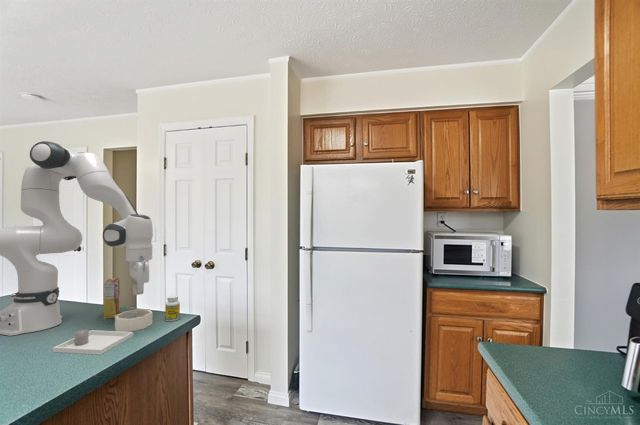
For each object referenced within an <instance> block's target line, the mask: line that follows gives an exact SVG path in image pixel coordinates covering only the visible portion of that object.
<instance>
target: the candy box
mask: <svg viewBox="0 0 640 425" xmlns="http://www.w3.org/2000/svg"><path fill="white" fill-rule="evenodd" d="M120 291H121V290H120V278H119V277H118V278H116V277H114V278H108V279H107V280H106V281H105V282H103V319H104V320H106V319H115V315H117V314H120V311H121V309H120V308H121V307H120V306H121V300H120V299H121V298H120Z"/></svg>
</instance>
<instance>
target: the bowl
mask: <svg viewBox="0 0 640 425" xmlns="http://www.w3.org/2000/svg"><path fill="white" fill-rule="evenodd" d="M128 313H136V318H131V319H125V315H126V314H128ZM151 325H153V311H152V310H151V309H145V308H144V309H143V308H137V309H131V310H127V311H126V310H125V311H122V312H121V313H120V312H119V313H118V314H117V315H115V318H114V331H120V332H133V331H139V330H143V329H146V328H147V327H149V326H151Z"/></svg>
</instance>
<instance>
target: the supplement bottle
mask: <svg viewBox="0 0 640 425" xmlns="http://www.w3.org/2000/svg"><path fill="white" fill-rule="evenodd" d="M166 299H167V301H166V303H165V314H164V315H165V316H164V317H165V321H166V322H174V321H175V322H176V321H178V320H179V319H180V317H181V315H180V313H181V312H180V310H181V309H180V308H181V304H180V303H181V302H180V300H179V296H178V295H176V294H175V295H174V294H173V295H169V296H167V298H166Z"/></svg>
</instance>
